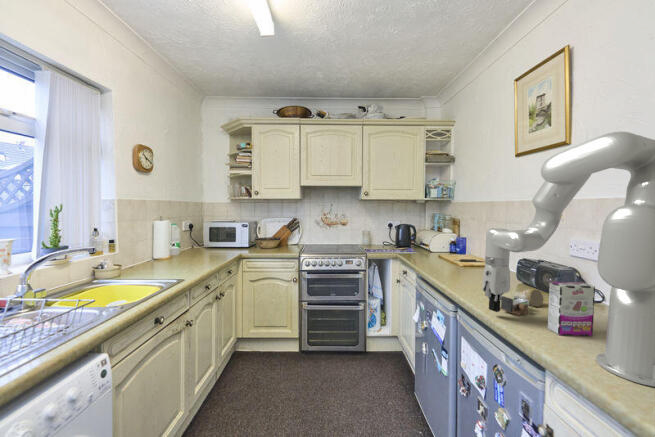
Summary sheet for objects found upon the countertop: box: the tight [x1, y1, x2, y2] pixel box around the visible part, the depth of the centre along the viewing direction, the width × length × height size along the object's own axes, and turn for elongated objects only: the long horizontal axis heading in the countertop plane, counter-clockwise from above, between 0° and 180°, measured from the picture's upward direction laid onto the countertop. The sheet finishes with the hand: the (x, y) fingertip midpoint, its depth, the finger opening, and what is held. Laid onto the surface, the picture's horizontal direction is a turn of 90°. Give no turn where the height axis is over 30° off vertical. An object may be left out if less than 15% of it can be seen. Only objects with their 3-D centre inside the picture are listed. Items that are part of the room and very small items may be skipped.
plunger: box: [500, 295, 530, 313], centre depth 104 cm, size 11×5×5 cm, turn 117°
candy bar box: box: [547, 281, 596, 337], centre depth 87 cm, size 11×5×16 cm, turn 90°
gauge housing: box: [500, 303, 529, 317], centre depth 104 cm, size 6×7×4 cm
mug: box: [512, 288, 545, 308], centre depth 113 cm, size 8×10×10 cm
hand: (494, 310), depth 98 cm, fingers closed
